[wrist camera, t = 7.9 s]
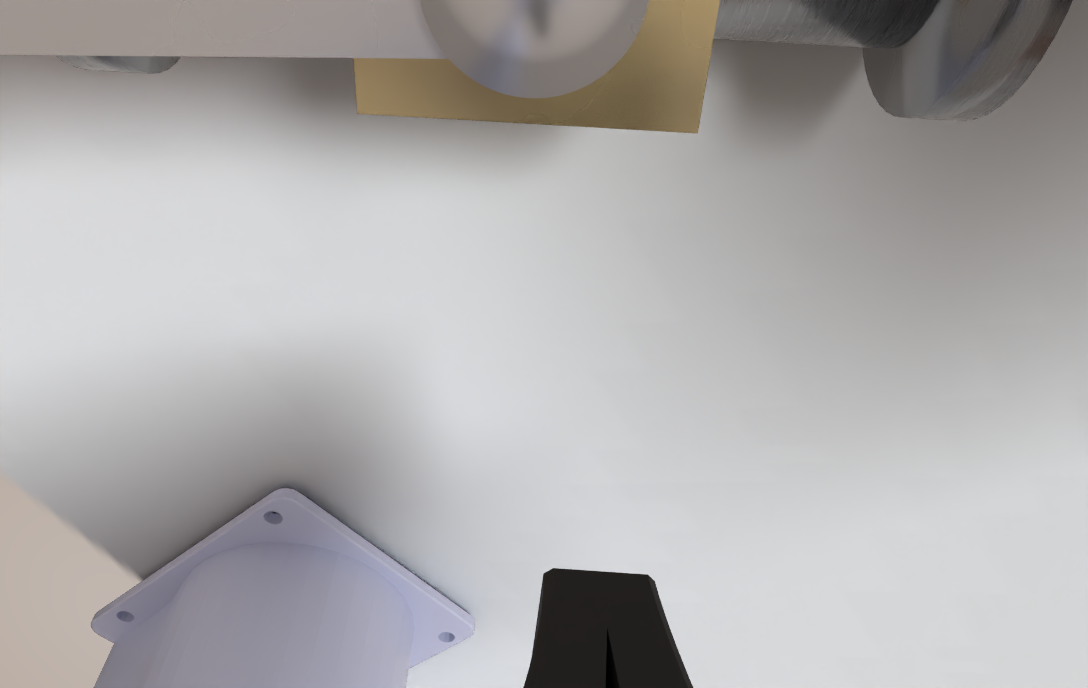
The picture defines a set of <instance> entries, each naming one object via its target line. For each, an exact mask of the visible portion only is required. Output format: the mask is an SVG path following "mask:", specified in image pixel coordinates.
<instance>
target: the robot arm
mask: <svg viewBox="0 0 1088 688" xmlns="http://www.w3.org/2000/svg"><path fill="white" fill-rule="evenodd" d="M271 511H273V512H277V513H279V514H275V513H273V512H271ZM91 628H92V629H93V630H94V632H96V633H97V634H98V635H100V636H102V637H104V638H105V639H107V640H109V641H111V642H113V643H114V645H113V647H112V649H111V651H110V654H109V656H108V658H107V660H106V662H105V665H104V667H103V669H102V671H101V673H100V675H99V678H98V680H97V682H96V684H95V686H94V688H406V682H407V676H408V669H409V668H411V667H413V666H415V665H417V664H419V663H421V662H423V661H425V660H427V659H429V658H430V657H432V656H434V655H436V654H438V653H440V652H442V651H444V650H446V649H448V648H450V647H452V646H454V645H455V644H457V643H459V642H461V641H463V640H465V639H467V638H469V637H470V636H472V635H473V633H474V629H475V621H474V618H473V617H472V616H471V615H470V614H468V613H467V612H465V611H464V610H463V609H461V608H460V607H458V606H457V605H456V604H454V603H453V602H451V601H450V600H449V599H447V598H446V597H445V596H443V595H442V594H440V593H439V592H438V591H436V590H435V589H433V588H432V587H431V586H429V585H428V584H426V583H425V582H424V581H422V580H421V579H419V578H418V577H417V576H415V575H414V574H412V573H411V572H410V571H408V570H407V569H405V568H404V567H403V566H401V565H400V564H398V563H397V562H396V561H394V560H393V559H392V558H390V557H389V556H387V555H386V554H385V553H383V552H382V551H380V550H379V549H378V548H376V547H375V546H373V545H372V544H371V543H369V542H368V541H366V540H365V539H364V538H362V537H361V536H359V535H358V534H357V533H355V532H354V531H352V530H351V529H350V528H348V527H347V526H346V525H344V524H343V523H341V522H340V521H339V520H337V519H336V518H334V517H333V516H332V515H330V514H329V513H327V512H326V511H325V510H323V509H322V508H320V507H319V506H318V505H316V504H315V503H313V502H312V501H311V500H309V499H308V498H306V497H305V496H304V495H302V494H301V493H299V492H298V491H296V490H294V489H289V488H281V489H278V490H275V491H273V492H272V493H270V494H269V495H267V496H266V497H265V498H263V499H262V500H260V501H259V502H257V503H256V504H254V505H253V506H251V507H250V508H248V509H247V510H246V511H244V512H243V513H241V514H240V515H238V516H237V517H235V518H234V519H232V520H231V521H229V522H228V523H227V524H225V525H224V526H222V527H221V528H219V529H218V530H216V531H215V532H213V533H212V534H210V535H209V536H208V537H206V538H205V539H203V540H202V541H200V542H199V543H197V544H196V545H194V546H193V547H191V548H190V549H189V550H187V551H186V552H184V553H183V554H181V555H180V556H178V557H177V558H175V559H174V560H172V561H171V562H170V563H168V564H167V565H165V566H164V567H162V568H161V569H159V570H158V571H156V572H155V573H153V574H152V575H151V576H149V577H148V578H146V579H145V580H143V581H142V582H140V583H139V584H137V585H136V586H134V587H133V588H132V589H130V590H129V591H127V592H126V593H125V594H123V595H122V596H120V597H118V598H117V599H116V600H114V601H113V602H111V603H110V604H108V605H107V606H105V607H104V608H102V609H101V610H100V611H98V612H97V613H96V614H95V616H94V618H93V620H92V622H91ZM524 688H693V686H692V684H691V681H690V679H689V677H688V674H687V672H686V669H685V667H684V664H683V662H682V659H681V657H680V654H679V652H678V649H677V646H676V644H675V641H674V638H673V636H672V633H671V630H670V628H669V625H668V622H667V619H666V616H665V613H664V610H663V607H662V604H661V601H660V598H659V595H658V591H657V588H656V584H655V581H654V580H653V579H652V578H651V577H650V576H649V575H644V574H629V573H615V572H600V571H585V570H571V569H556V568H553V569H551V570H549V571H547V572H546V573H544V574H543V582H542V589H541V596H540V603H539V610H538V617H537V625H536V632H535V639H534V646H533V653H532V659H531V663H530V667H529V671H528V674H527V678H526V681H525V685H524Z"/></svg>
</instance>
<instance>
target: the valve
mask: <svg viewBox="0 0 1088 688" xmlns="http://www.w3.org/2000/svg"><path fill="white" fill-rule="evenodd" d="M1072 1H1073V0H649V2H648V6H647V10H646V13H645V17H644V20H643V22H642V25H641V27H640V30H639V32H638V34H637V36H636V37H635V39H634V41H633V43H632V45H631V46H630V47H629V49H628V50H627V51H626V53H625V54H624V56H623V57H622V58H621V59H620V60H619V61H618V62H617V63H616V64H615V65H614V66H613V67H612V68H611V69H610V70H609V71H608V72H606V73H605V74H604V75H603V76H602V77H600V78H599V79H597V80H595V81H594V82H592V83H591V84H589V85H587V86H585V87H583V88H581V89H578V90H576V91H573V92H570V93H567V94H564V95H560V96H554V97H549V98H522V97H516V96H511V95H506V94H503V93H500V92H497V91H494V90H491V89H489V88H487V87H485V86H483V85H481V84H479V83H477V82H476V81H474V80H473V79H471V78H470V77H468V76H467V75H465V74H464V73H463V72H462V71H461V70H460V69H458V68H457V67H456V66H455V65H454V64H453V63H452V62H451V61H450V60H449V59H407V58H353V59H354V73H355V87H356V101H357V114H371V115H389V116H406V117H423V118H441V119H458V120H475V121H493V122H510V123H528V124H545V125H562V126H580V127H597V128H614V129H632V130H649V131H666V132H684V133H698V128H699V122H700V116H701V110H702V104H703V98H704V92H705V86H706V80H707V74H708V68H709V62H710V56H711V50H712V44H713V38H716V39H732V40H749V41H766V42H782V43H799V44H815V45H832V46H849V47H862V51H863V59H864V65H865V70H866V74H867V78H868V82H869V85H870V87H871V90H872V92H873V95H874V97H875V98H876V100H877V101H878V103H879V105H880V106H881V107H882V108H883V109H884V110H885V111H886V112H888V113H890V114H891V115H893V116H898V117H905V118H923V119H940V120H957V121H967V120H974V119H977V118H980V117H982V116H985V115H987V114H989V113H990V112H992V111H993V110H995V109H996V108H998V107H999V106H1001V105H1002V104H1003V103H1004V102H1005V101H1006V100H1007V99H1008V98H1010V97H1011V96H1012V95H1013V94H1014V93H1015V92H1016V91H1017V89H1018V88H1019V87H1020V86H1021V85H1022V84H1023V83H1024V82H1025V80H1026V79H1027V78H1028V77H1029V75H1030V74H1031V73H1032V71H1033V70H1034V68H1035V67H1036V66H1037V64H1038V63H1039V62H1040V60H1041V59H1042V57H1043V55H1044V54H1045V52H1046V50H1047V49H1048V47H1049V46H1050V44H1051V42H1052V41H1053V39H1054V37H1055V35H1056V33H1057V32H1058V30H1059V28H1060V26H1061V24H1062V22H1063V20H1064V18H1065V16H1066V14H1067V12H1068V10H1069V8H1070V5H1071V3H1072ZM56 56H57V57H58V58H60V59H61V60H62V61H64V62H66V63H68V64H70V65H72V66H74V67H77V68H81V69H85V70H100V71H117V72H134V73H161V72H163V71H166V70H168V69H169V68H170V67H172V66H173V65H174V64H176V62H177V61H178V60H179V59H180V57H181V56H79V55H56Z"/></svg>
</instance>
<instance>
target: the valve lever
mask: <svg viewBox="0 0 1088 688" xmlns="http://www.w3.org/2000/svg"><path fill="white" fill-rule="evenodd" d="M648 2H649V0H0V55H79V56H188V57H298V58H407V59H449V60H450V61H451V62H452V63H453V64H454V65H455V66H456V67H457V68H458V69H460V70H461V71H462V72H463V73H464V74H465V75H467V76H468V77H470V78H471V79H473V80H474V81H476V82H477V83H479V84H481V85H483V86H485V87H487V88H489V89H491V90H494V91H497V92H500V93H503V94H506V95H511V96H516V97H522V98H549V97H554V96H560V95H564V94H567V93H570V92H573V91H576V90H578V89H581V88H583V87H585V86H587V85H589V84H591V83H592V82H594V81H595V80H597V79H599V78H600V77H602V76H603V75H604V74H605V73H606V72H608V71H609V70H610V69H611V68H612V67H613V66H614V65H615V64H616V63H617V62H618V61H619V60H620V59H621V58H622V57H623V56H624V54H625V53H626V51H627V50H628V49H629V47H630V46H631V45H632V43H633V41H634V39H635V37H636V36H637V34H638V32H639V30H640V27H641V25H642V22H643V20H644V17H645V13H646V10H647V6H648Z"/></svg>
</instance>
